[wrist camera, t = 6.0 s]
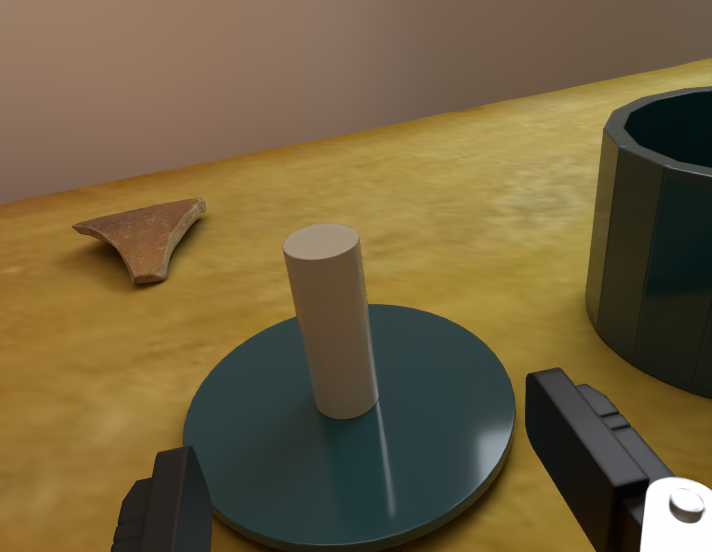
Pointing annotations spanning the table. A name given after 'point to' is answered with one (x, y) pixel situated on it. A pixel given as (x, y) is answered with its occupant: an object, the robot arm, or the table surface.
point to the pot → (656, 237)
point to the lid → (349, 414)
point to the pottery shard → (146, 235)
